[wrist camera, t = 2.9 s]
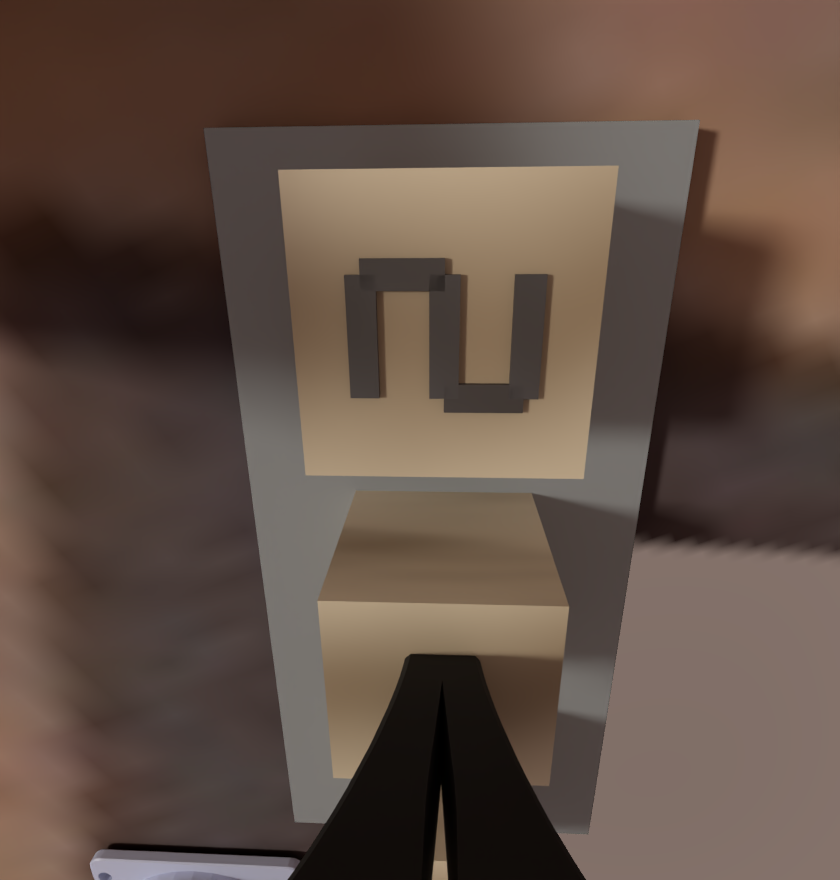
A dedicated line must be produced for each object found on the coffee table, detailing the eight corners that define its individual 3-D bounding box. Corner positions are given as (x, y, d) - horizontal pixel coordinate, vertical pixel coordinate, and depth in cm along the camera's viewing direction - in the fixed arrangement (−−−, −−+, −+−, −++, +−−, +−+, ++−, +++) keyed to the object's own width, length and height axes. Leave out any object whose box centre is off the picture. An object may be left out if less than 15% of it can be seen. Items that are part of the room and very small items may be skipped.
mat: (583, 816, 19) (588, 834, 18) (299, 804, 19) (294, 821, 19) (687, 125, 11) (699, 119, 11) (215, 132, 12) (203, 128, 11)
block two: (538, 398, 13) (585, 481, 9) (350, 397, 13) (304, 477, 9) (554, 191, 11) (620, 163, 7) (339, 193, 11) (275, 168, 7)
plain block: (520, 635, 15) (549, 786, 11) (363, 631, 16) (332, 778, 11) (531, 492, 14) (569, 606, 10) (356, 490, 14) (317, 601, 10)
